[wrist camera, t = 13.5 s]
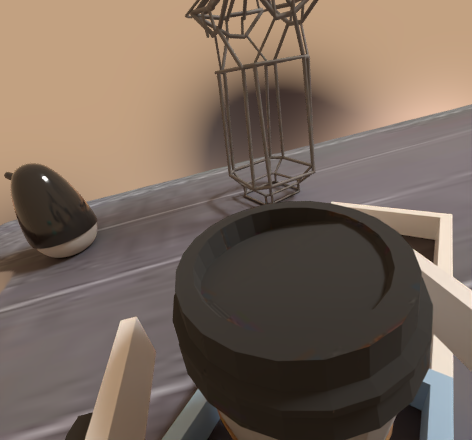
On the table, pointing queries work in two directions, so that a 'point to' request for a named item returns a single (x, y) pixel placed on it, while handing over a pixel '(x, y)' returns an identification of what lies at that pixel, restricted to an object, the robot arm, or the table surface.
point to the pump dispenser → (51, 211)
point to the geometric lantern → (307, 83)
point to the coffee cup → (303, 322)
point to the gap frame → (441, 358)
